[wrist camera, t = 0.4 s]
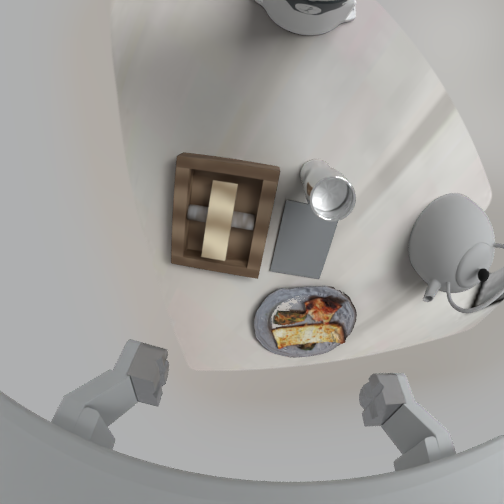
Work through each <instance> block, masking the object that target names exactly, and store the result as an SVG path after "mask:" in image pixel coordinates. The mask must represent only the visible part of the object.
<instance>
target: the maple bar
mask: <svg viewBox="0 0 504 504" xmlns="http://www.w3.org/2000/svg"><path fill="white" fill-rule="evenodd" d="M237 188H238V184H234V183H228V182H221V181H215V180H213V184H212V190H211V196H210V202H209V208H208V214H207V221H206V228H205V234H204V241H203V248H202V256H201V257H205V258H211V259H217V260H222V261H225V260H226V255H227V248H228V242H229V236H230V230H231V224H232V218H233V212H234V206H235V200H236V194H237Z"/></svg>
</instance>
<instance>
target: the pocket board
mask: <svg viewBox="0 0 504 504" xmlns="http://www.w3.org/2000/svg"><path fill="white" fill-rule="evenodd" d="M279 175H280V168H279V167H277V166H272V165H266V164H261V163H255V162H249V161H243V160H237V159H230V158H223V157H216V156H208V155H201V154H192V153H182V154H180V155H178V156H177V161H176V173H175V186H174V201H173V220H172V250H171V263H172V264H178V265H183V266H188V267H194V268H199V269H205V270H211V271H216V272H222V273H228V274H233V275H239V276H245V277H251V278H257V279H258V276H259V271H260V266H261V262H262V257H263V252H264V247H265V243H266V238H267V233H268V228H269V224H270V219H271V214H272V209H273V204H274V199H275V194H276V190H277V185H278V180H279ZM213 180H215V181H221V182H228V183H234V184H238V188H237V194H236V200H235V206H234V212H233V218H232V224H231V230H230V236H229V242H228V248H227V255H226V260H225V261H222V260H217V259H211V258H205V257H201V256H202V248H203V241H204V234H205V228H206V221H207V214H208V208H209V202H210V196H211V190H212V184H213Z"/></svg>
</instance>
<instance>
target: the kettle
mask: <svg viewBox="0 0 504 504" xmlns="http://www.w3.org/2000/svg"><path fill="white" fill-rule="evenodd" d="M495 247H500V248H504V244H498V243H495V237H494V232H493V228H492V225H491V223H490V220H489V218H488V217H487V215H486V214H485V212H484V211H483V210H482V209H481V208H480V207H479V206H478V205H477V204H476V203H475V202H473V201H472V200H471V199H470V198H468V197H467V196H465V195H462V194H459V193H450V194H445V195H443V196H440V197H438V198H437V199H435V200H434V201H432V202H431V203H430V204H429V205H428V206H427V207H426V208H425V209H424V210H423V211H422V213H421V214H420V216H419V217H418V219H417V220H416V222H415V224H414V227H413V229H412V232H411V235H410V240H409V258H410V262H411V264H412V266H413V268H414V270H415V271H416V272H417V273H418V274H419V275H420V277H421V278H422V279H423V280H424V281H425V282H426V283H427V284H428V287H427V290H426V292H425V295H424V298H423V301H426V302H429V301H432V300H433V298H434V297H435V295H436V293H437V292H438V290H439V291H442V292H447V298H448V301H449V303H450V304H451V306H452V307H453V308H454V309H455V310H457V311H459V312H462V313H472V312H476V311H478V310H481V309H483V308H484V307H486V306H488V305H489V304H491V303H492V302H493V301H495V300H496V299H497V298H498V297H499V296H500V295H501V294H502V293H504V287H503V288H502V289H501V290H500V291H499V292H498V293H497V294H496V295H494V296H493V297H492V298H491V299H489V300H488V301H486V302H485V303H483V304H481V305H479V306H477V307H474V308H470V309H463V308H460V307H458V306H457V305H456V304H455V303H454V302H453V301H452V298H451V294H450V293H458V292H463V291H466V290H468V289H470V288H472V287H474V286H475V285H477V284H478V283H479V282H480V281H482V282H484V281H486V280H487V279H488V277H489V272H488V270H489V268H490V266H491V264H492V261H493V257H494V252H495Z"/></svg>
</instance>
